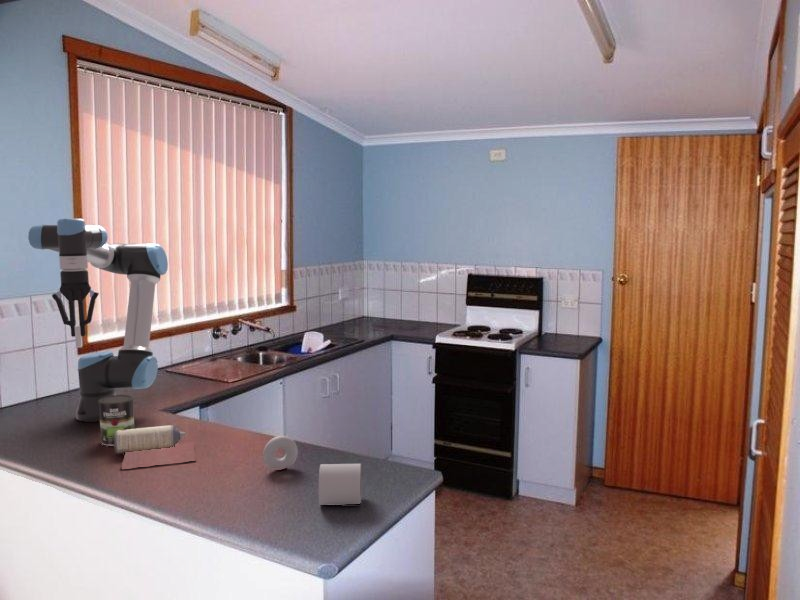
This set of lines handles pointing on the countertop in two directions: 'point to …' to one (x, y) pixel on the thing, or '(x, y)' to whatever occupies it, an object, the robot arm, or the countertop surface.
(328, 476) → the toilet paper
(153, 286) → the robot arm
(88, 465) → the countertop surface
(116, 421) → the coffee can
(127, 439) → the aerosol can
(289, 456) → the donut
